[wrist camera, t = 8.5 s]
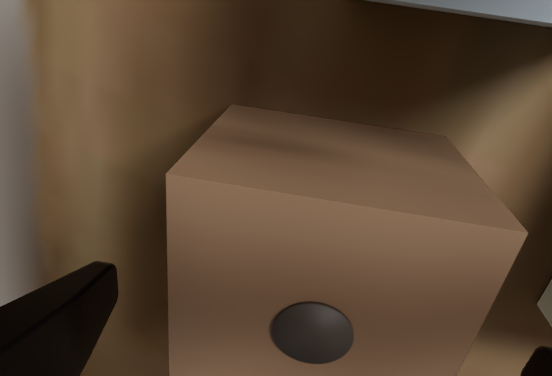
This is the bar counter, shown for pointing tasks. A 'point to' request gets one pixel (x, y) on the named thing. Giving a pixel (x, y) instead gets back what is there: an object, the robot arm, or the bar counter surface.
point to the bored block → (488, 9)
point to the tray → (546, 303)
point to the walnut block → (328, 250)
